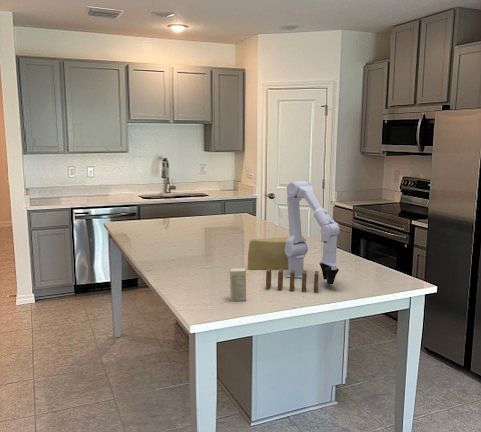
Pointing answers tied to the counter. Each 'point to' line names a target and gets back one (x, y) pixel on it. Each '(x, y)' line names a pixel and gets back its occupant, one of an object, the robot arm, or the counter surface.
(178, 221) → the counter surface
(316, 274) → the walnut domino
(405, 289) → the counter surface
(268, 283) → the walnut domino
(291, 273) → the walnut domino
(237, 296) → the skincare box
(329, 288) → the grey domino
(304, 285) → the walnut domino
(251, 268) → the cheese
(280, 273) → the walnut domino
